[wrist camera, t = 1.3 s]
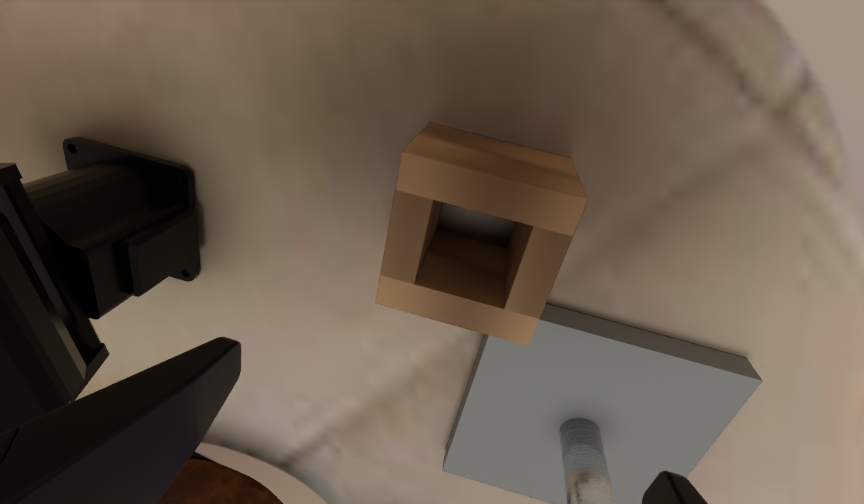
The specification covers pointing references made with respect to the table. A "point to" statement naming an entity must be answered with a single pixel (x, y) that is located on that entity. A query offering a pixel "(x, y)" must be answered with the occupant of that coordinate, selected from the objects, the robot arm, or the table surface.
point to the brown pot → (215, 486)
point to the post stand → (592, 410)
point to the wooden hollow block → (469, 259)
